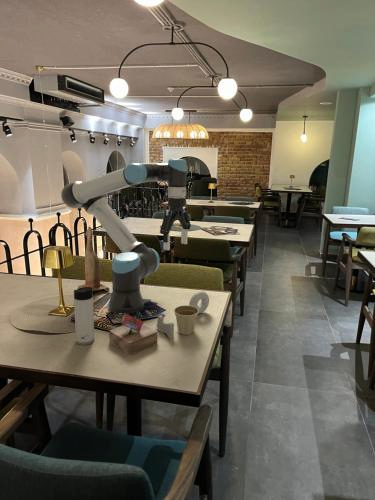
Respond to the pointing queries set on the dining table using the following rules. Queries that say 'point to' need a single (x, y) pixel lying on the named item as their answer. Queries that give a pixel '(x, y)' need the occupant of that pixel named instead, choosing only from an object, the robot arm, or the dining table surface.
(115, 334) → the walnut block
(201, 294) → the donut
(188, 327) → the flower pot
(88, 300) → the travel mug
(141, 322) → the geometric puzzle
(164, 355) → the dining table surface
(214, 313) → the dining table surface
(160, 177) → the robot arm
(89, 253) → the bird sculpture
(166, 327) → the grey tape dispenser
